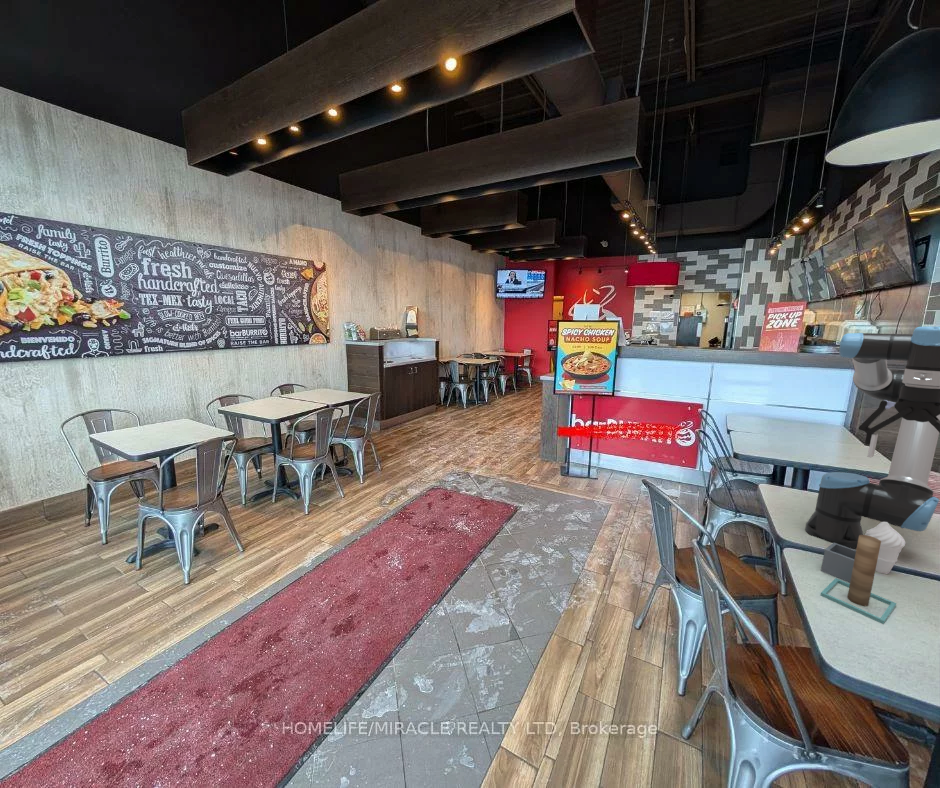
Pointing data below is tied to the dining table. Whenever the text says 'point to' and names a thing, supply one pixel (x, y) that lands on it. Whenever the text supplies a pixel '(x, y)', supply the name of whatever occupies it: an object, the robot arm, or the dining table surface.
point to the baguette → (864, 570)
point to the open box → (838, 561)
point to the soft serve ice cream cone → (886, 546)
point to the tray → (878, 619)
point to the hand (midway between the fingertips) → (905, 463)
